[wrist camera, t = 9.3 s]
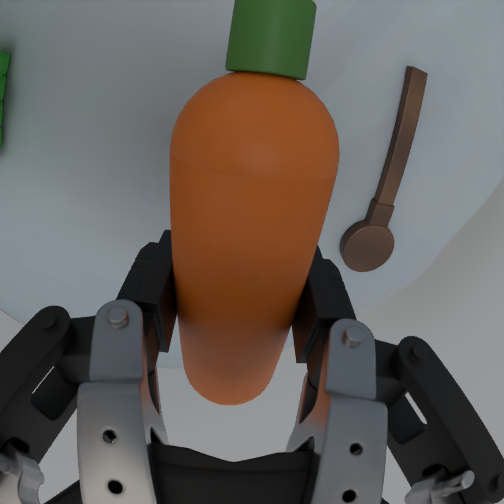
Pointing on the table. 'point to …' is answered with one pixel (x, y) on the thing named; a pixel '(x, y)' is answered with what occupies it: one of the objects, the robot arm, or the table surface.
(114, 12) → the table surface
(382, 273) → the table surface
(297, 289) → the carrot
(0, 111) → the fruit basket
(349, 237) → the spoon
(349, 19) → the table surface
